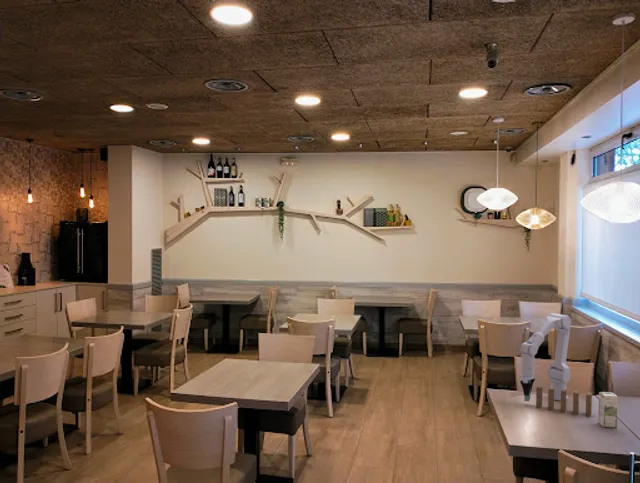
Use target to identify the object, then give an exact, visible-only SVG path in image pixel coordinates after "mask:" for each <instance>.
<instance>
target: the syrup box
mask: <svg viewBox="0 0 640 483" xmlns="http://www.w3.org/2000/svg"><path fill="white" fill-rule="evenodd" d="M618 402H619V401H618V395H616V394H615V393H613V392H609V391H608V392H607V391H599V392H598V420H597V421H598V422H597V423H598V424H599V425H600V426H602V427H603V428H611V429H612V428H615V429H616V428H617V426H618V425H617V424H618V423H617V422H618Z"/></svg>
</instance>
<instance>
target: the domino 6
mask: <svg viewBox="0 0 640 483" xmlns="http://www.w3.org/2000/svg"><path fill="white" fill-rule="evenodd" d="M592 396H593V393H592V392H586V394H585V417H588V418H591V416H592V401H593V400H592Z"/></svg>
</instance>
